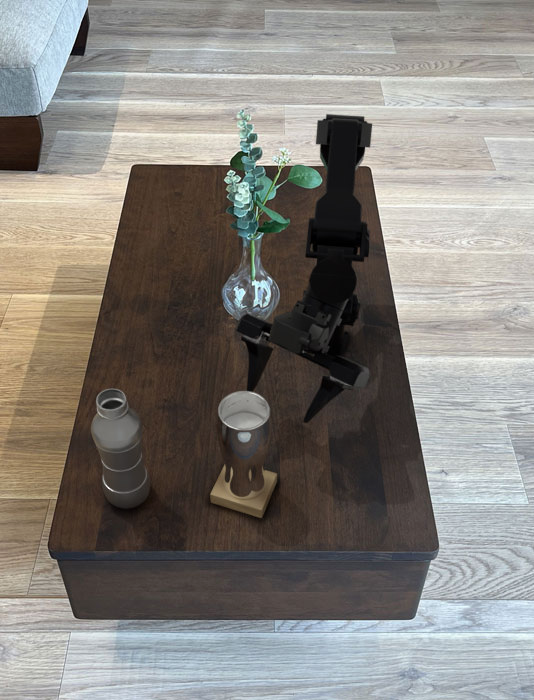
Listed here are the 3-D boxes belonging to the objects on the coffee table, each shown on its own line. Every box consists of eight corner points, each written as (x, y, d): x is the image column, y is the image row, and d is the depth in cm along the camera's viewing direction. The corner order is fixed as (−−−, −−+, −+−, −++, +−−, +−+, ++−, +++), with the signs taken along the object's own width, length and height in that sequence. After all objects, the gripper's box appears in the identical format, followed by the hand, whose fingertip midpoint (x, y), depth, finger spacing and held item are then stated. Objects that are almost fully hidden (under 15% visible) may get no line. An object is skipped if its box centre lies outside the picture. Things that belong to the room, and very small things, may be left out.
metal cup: (227, 507, 107) (224, 436, 97) (214, 467, 112) (210, 395, 101) (276, 495, 108) (279, 424, 98) (261, 456, 113) (262, 384, 103)
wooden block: (227, 467, 114) (227, 458, 113) (277, 481, 113) (277, 473, 111) (210, 502, 110) (210, 494, 109) (261, 518, 108) (261, 510, 107)
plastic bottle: (128, 468, 114) (111, 371, 100) (162, 493, 111) (149, 397, 97) (94, 497, 111) (72, 401, 97) (129, 523, 108) (110, 428, 94)
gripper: (242, 267, 104) (194, 376, 105) (368, 322, 96) (315, 438, 97) (274, 281, 114) (230, 380, 115) (390, 332, 106) (342, 438, 108)
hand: (276, 407), depth 109 cm, fingers open, 9 cm apart
